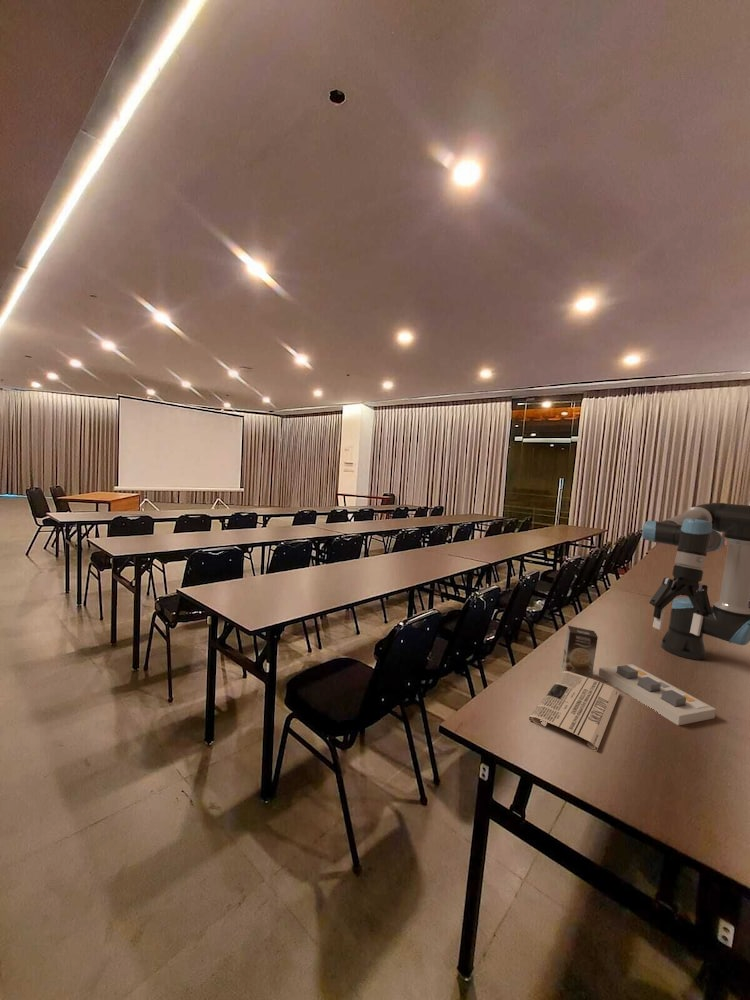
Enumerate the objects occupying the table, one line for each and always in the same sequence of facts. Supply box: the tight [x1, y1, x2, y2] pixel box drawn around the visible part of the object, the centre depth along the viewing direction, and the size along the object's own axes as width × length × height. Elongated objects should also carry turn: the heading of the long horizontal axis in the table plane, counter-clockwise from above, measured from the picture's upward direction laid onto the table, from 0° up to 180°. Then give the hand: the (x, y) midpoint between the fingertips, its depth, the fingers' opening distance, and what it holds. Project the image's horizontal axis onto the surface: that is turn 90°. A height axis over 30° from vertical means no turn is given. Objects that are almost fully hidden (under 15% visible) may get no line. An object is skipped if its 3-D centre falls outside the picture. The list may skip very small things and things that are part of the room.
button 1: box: [616, 664, 638, 679], centre depth 141 cm, size 4×4×3 cm
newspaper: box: [528, 670, 621, 752], centre depth 124 cm, size 37×19×3 cm, turn 141°
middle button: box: [638, 677, 661, 693], centre depth 133 cm, size 4×4×3 cm
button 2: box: [661, 690, 686, 707], centre depth 126 cm, size 4×4×3 cm
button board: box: [598, 663, 717, 726], centre depth 134 cm, size 16×28×3 cm, turn 19°
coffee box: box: [561, 625, 599, 679], centre depth 145 cm, size 9×6×16 cm
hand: (675, 631), depth 129 cm, fingers open, 13 cm apart
